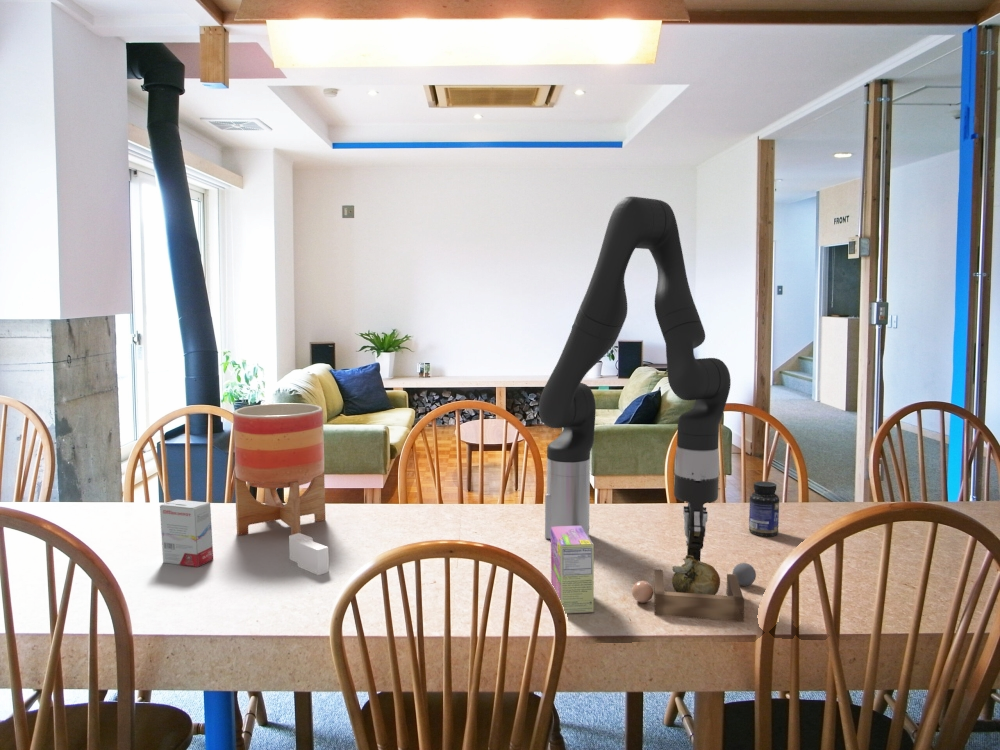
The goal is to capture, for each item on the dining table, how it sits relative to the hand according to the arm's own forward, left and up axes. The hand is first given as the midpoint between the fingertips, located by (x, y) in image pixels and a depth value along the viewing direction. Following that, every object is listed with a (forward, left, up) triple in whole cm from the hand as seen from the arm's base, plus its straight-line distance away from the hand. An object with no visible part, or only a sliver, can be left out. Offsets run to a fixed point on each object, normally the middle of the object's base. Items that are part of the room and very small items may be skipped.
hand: (693, 567), depth 136 cm
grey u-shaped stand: (0, -6, -4) cm, 7 cm away
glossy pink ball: (-9, -8, -4) cm, 12 cm away
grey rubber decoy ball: (+9, +3, -4) cm, 11 cm away
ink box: (-97, -4, -4) cm, 97 cm away
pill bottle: (+17, +35, -4) cm, 40 cm away
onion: (0, -5, -4) cm, 7 cm away
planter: (-89, +20, -4) cm, 91 cm away
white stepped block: (-72, -1, -5) cm, 73 cm away
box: (-21, -10, -4) cm, 23 cm away
